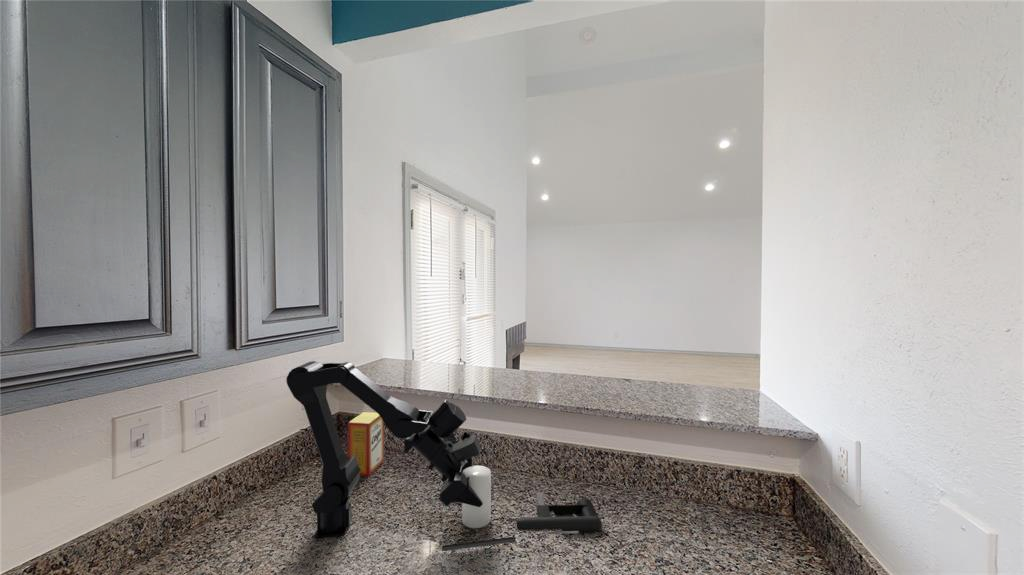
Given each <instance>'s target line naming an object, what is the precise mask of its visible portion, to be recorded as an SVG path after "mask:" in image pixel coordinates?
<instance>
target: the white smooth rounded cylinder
mask: <svg viewBox="0 0 1024 575" xmlns="http://www.w3.org/2000/svg"><path fill="white" fill-rule="evenodd" d="M462 473H463V474H464V475H465V476H466V478H468V477H470V487H471V488H472V489H473V491H474V492H475V493H476V494H477V496H478V497H479V498H480V500H481V501H482V503H483V505H482V506H481V507H476V506H473V505H469V504H465V503H462V504H461V522H462V524H463V525H464V526H465V527H467V528H470V529H480V528H484V527H486V526H487V525H488V524H489V523H490V522H491V519H492V518H491V516H492V515H491V514H492V513H491V512H492V500H491V499H492V471H491V469H490V468H489V467H487V466H483V465H473V466H471V467H468V468H466V469H464V470H463V472H462Z"/></svg>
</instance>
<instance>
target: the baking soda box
mask: <svg viewBox="0 0 1024 575" xmlns="http://www.w3.org/2000/svg"><path fill="white" fill-rule="evenodd" d="M384 429H385V424H384V422H383V420H382V418H381V417H380V415H379V414H378V413H377V412H375V411H363V412H362V413H360V414H359V415H357V416H356V417H354V418H353V419H351V420H349V422H347V456H348V457H349V458H352V457H353V456H356V458H357V464H358V466H359V468H360V469H361V471H360V473H359V475H361V476H360V477H370V476H371V475H372V474H373V473H374V472H375V471H376V470H377V469H378V468H379V466H380V465H381V464H382V463H384V461H385V448H384V447H385V445H384V443H385V442H384V441H385V440H384V439H385V438H384V436H385V433H384V432H385V430H384ZM370 474H371V475H370Z"/></svg>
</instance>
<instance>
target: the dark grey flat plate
mask: <svg viewBox="0 0 1024 575" xmlns="http://www.w3.org/2000/svg"><path fill="white" fill-rule="evenodd" d="M514 542H516V537H515V536H510V537H500V538H493V539H485V540H484V539H483V540H478V541H476V540H475V541H470V542H462V543H454V544H446V545H442V546H441V552H446V551H453V550H460V549H461V550H463V549H468V548H477V547H485V546H491V545H492V546H493V545H500V544H509V543H514Z"/></svg>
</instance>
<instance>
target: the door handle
mask: <svg viewBox="0 0 1024 575" xmlns="http://www.w3.org/2000/svg"><path fill="white" fill-rule="evenodd" d="M536 500H537V505H536V513H537V516H531V517H530V516H526V517H520V518H519V517H517V518H516V529H518V530H522V531H523V532H525V530H557V531H551V532H544V533H543V532H542V535H545V534H547V535H550V534H553V535H554V534H555V535H558V534H559V535H560V534H579V533H580V532H598V531H600V530H601V529H602V527H603V522H602V520H601V518H600V517H599V515H598V513H597V511H596V509H595V507H594V504H593V503H592V500H591V499H589V498H586V497H583V498H580V499H578V501H577V504H552V505H551V504H548V505H547V504H546V503H545V499H544V494H543V492H536ZM550 511H552V512H553V514H554V516H551V513H550ZM579 514H580V515H579ZM566 515H567V516H566ZM570 515H571V516H570ZM578 515H579V516H578ZM560 529H561V530H560Z"/></svg>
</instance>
